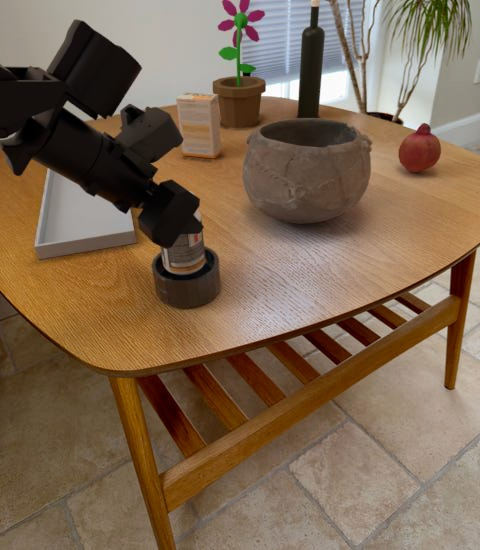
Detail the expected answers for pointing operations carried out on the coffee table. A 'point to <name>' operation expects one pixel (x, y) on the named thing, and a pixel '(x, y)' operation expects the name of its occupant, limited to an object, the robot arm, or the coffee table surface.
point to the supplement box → (199, 124)
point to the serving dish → (78, 220)
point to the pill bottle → (185, 252)
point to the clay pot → (306, 169)
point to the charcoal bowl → (187, 282)
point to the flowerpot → (239, 89)
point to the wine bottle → (311, 66)
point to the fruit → (420, 150)
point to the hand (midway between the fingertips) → (189, 220)
